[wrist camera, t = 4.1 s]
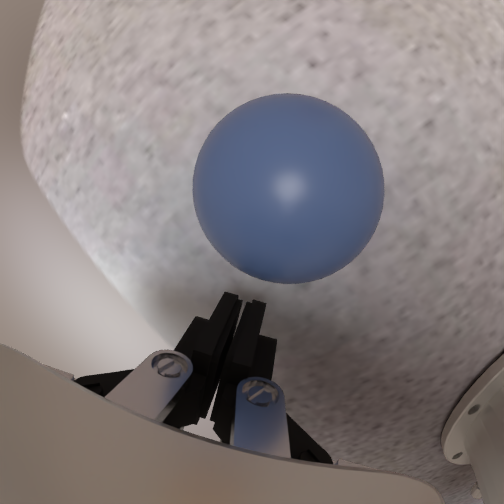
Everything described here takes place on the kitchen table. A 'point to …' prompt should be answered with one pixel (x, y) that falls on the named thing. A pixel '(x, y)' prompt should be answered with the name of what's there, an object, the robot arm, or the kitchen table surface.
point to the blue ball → (288, 188)
